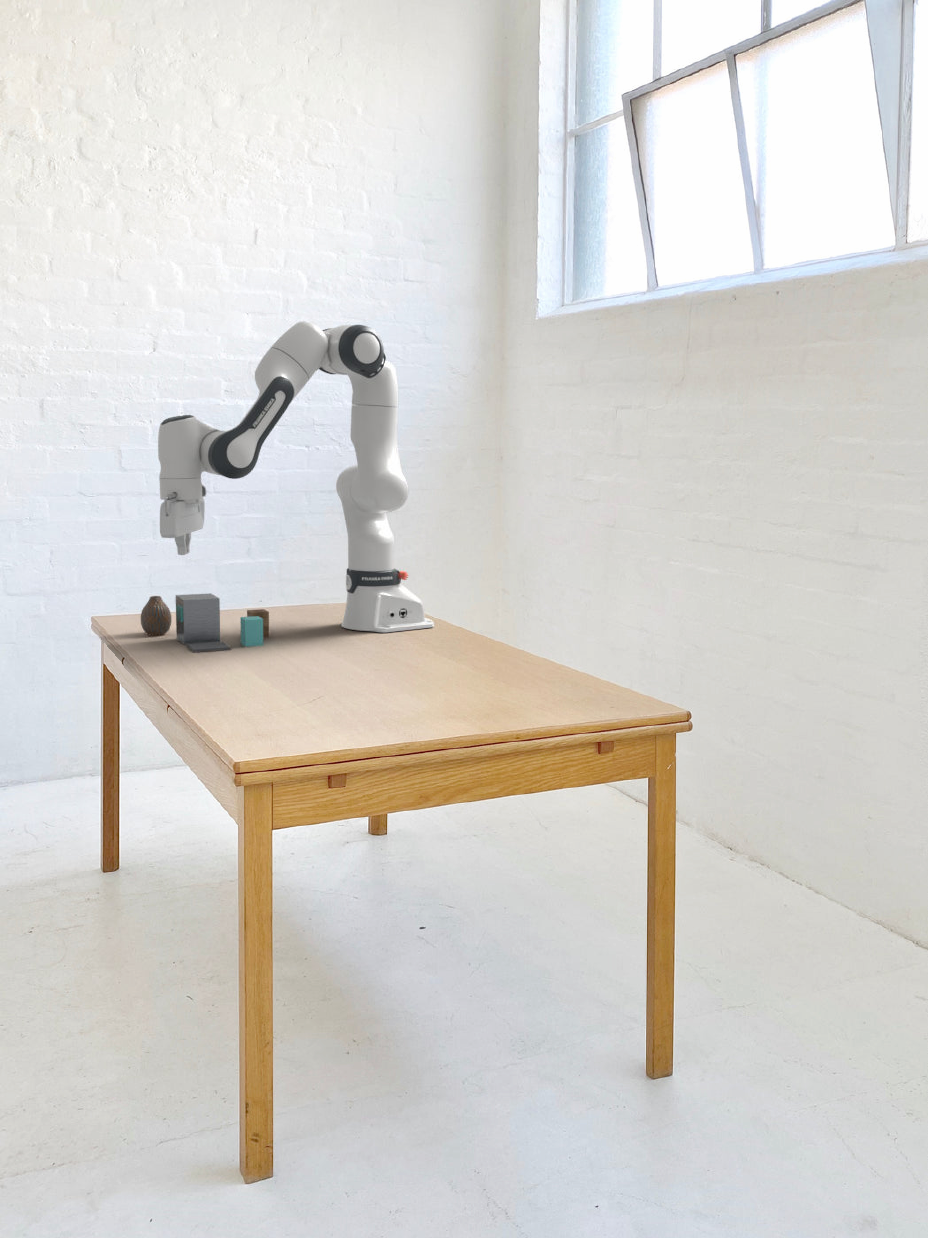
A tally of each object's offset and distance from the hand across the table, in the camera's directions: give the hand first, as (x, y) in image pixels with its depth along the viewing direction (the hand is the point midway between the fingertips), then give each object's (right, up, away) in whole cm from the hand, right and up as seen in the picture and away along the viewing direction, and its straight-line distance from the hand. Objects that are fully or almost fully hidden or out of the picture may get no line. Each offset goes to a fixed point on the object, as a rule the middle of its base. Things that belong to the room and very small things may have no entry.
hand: (183, 554), depth 262 cm
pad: (+6, -21, -1) cm, 21 cm away
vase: (-10, -18, +14) cm, 25 cm away
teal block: (+14, -20, +4) cm, 25 cm away
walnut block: (+14, -18, +14) cm, 27 cm away
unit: (+2, -19, +7) cm, 20 cm away
